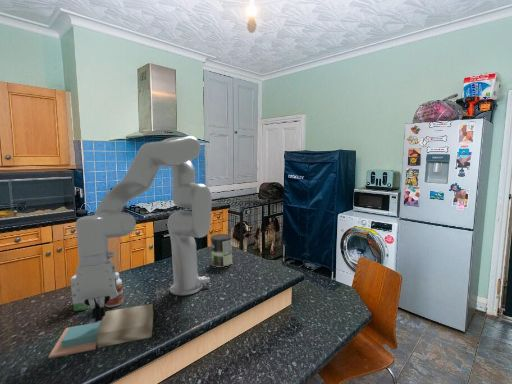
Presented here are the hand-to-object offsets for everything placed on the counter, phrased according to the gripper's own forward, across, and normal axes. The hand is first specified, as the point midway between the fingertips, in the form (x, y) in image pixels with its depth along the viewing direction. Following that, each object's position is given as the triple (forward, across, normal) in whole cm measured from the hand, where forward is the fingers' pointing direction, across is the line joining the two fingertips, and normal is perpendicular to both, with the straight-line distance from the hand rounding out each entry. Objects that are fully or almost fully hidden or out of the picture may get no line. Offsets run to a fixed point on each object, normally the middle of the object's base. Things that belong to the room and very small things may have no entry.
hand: (99, 318), depth 85 cm
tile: (+4, +4, +1) cm, 6 cm away
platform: (+5, -8, 0) cm, 9 cm away
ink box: (+5, +9, -24) cm, 26 cm away
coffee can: (+5, -46, -46) cm, 65 cm away
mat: (+5, +6, 0) cm, 8 cm away
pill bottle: (+5, 0, -21) cm, 21 cm away
